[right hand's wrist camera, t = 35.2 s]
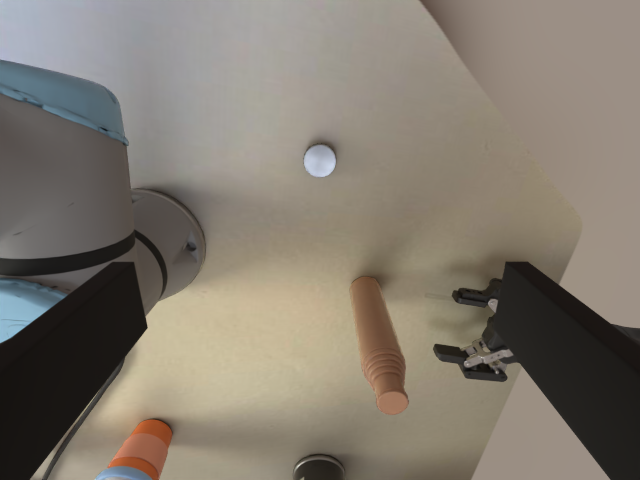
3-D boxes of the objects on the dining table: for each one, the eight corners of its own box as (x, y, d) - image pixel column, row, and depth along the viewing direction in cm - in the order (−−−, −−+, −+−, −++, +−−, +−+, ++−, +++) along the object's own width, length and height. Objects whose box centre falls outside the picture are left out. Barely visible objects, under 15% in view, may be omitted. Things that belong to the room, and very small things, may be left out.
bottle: (348, 303, 52) (366, 422, 33) (350, 276, 51) (369, 383, 31) (379, 303, 52) (415, 422, 33) (381, 276, 51) (420, 384, 31)
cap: (331, 178, 46) (331, 181, 44) (300, 171, 45) (300, 173, 44) (339, 147, 44) (340, 149, 43) (308, 139, 44) (307, 140, 43)
